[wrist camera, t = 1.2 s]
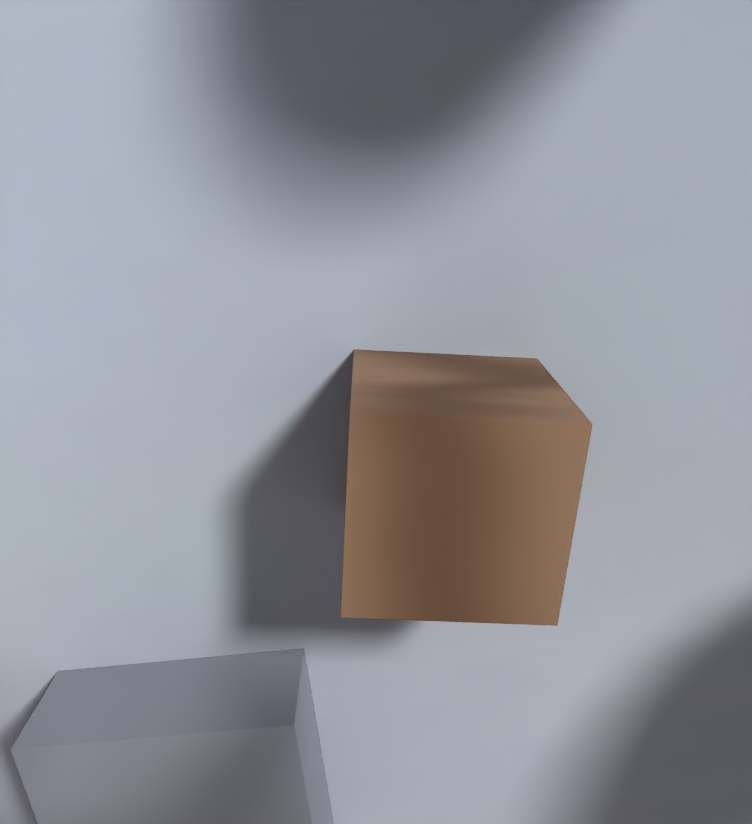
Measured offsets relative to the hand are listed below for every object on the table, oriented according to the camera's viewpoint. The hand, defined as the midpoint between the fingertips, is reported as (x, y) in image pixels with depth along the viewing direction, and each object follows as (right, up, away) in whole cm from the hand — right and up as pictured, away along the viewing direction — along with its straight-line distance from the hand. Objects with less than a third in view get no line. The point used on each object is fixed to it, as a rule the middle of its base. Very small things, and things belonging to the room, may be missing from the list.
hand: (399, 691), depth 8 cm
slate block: (-6, -9, +16) cm, 19 cm away
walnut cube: (+2, +2, +12) cm, 12 cm away
